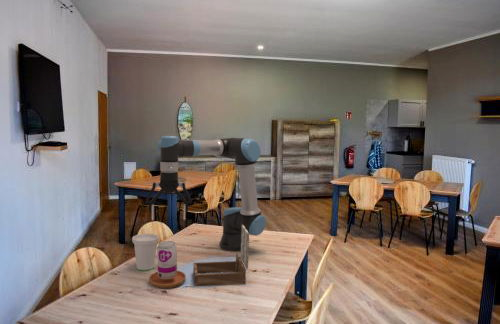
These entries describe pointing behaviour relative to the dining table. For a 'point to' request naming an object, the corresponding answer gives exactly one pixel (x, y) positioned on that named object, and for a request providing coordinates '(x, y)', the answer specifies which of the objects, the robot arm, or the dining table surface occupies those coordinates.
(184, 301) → the dining table surface
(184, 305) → the dining table surface
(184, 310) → the dining table surface
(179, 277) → the saucer
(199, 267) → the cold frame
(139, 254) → the cup
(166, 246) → the supplement can
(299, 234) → the dining table surface
